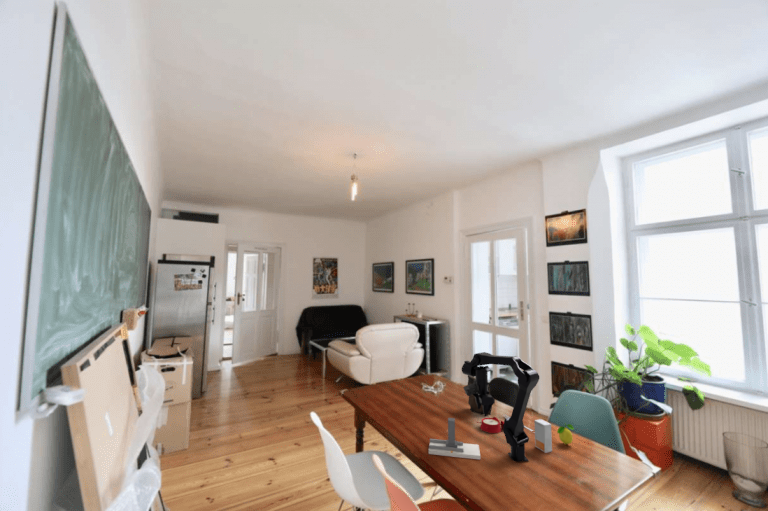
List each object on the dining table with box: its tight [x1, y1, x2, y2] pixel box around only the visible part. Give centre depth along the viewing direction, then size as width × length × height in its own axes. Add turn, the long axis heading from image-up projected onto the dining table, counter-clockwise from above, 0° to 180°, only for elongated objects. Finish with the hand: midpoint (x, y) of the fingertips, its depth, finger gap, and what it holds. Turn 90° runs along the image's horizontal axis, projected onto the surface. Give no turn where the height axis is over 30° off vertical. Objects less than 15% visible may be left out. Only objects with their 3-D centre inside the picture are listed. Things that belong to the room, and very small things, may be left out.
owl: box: [467, 375, 493, 416], centre depth 194 cm, size 13×13×20 cm
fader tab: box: [445, 417, 458, 448], centre depth 149 cm, size 5×4×12 cm
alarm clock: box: [476, 416, 504, 434], centre depth 171 cm, size 10×6×15 cm
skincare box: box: [533, 418, 553, 454], centre depth 150 cm, size 6×4×12 cm
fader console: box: [428, 438, 481, 461], centre depth 148 cm, size 22×10×3 cm, turn 78°
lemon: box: [557, 422, 575, 446], centre depth 155 cm, size 7×6×10 cm
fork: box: [502, 414, 534, 432], centre depth 175 cm, size 3×24×2 cm, turn 25°
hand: (482, 412), depth 159 cm, fingers open, 9 cm apart
